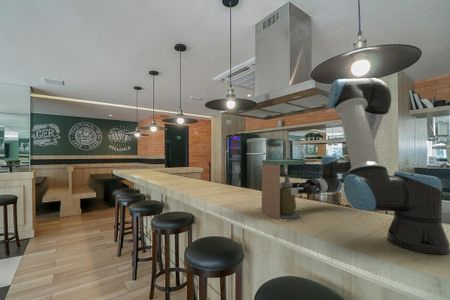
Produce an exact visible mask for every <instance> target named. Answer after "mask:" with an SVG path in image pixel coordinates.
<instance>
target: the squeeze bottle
mask: <svg viewBox="0 0 450 300" xmlns="http://www.w3.org/2000/svg"><path fill="white" fill-rule="evenodd" d="M292 183H293V182H291V181H290V176H289V175H285V178H284V182H282V187H281V188H280V213H281V214H283V215H293V214H294V212H296V208H297V204H296V203H297V202H296V195H291V187H292Z"/></svg>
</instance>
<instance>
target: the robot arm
mask: <svg viewBox="0 0 450 300" xmlns="http://www.w3.org/2000/svg"><path fill="white" fill-rule="evenodd" d="M329 88H330V89H329V92H328V97H327V105H328V107H329V108H331V109H333V108H334V111H335V113H336V115H337V116H340V120H341V125H342V130H343V134H344V138H345V145H346V148H347V153H348V158H346V159H345V158H338V155H334V154H333V155H329V154H327V155H323V156H321V164H320V165H321V171H320V172H321V177H320V178H309V179H307V180H305V182H291V183H292V187H291V195H295V196H296V195H303V194H305V195H307V194H308V195H311V196H312V195H319V196H320V195H321V194H328V193H329V194H330V193H333V194H334V193H338V192H340V190H342V187H343V192H344V195H345V198H346V200H347V202H348V203H349V204H350V205H351V206H352V207H353V208H354V209H356V210H360V211H367V212H373V211H375V212H377V211H378V212H379V211H380V212H393V214H394V215H393V218H392V221H391V223H390V225H389V227H388V230H387V240H388V241H389V242H391V243H392V244H394V245H396V246H399V247H401V248H403V249H407V250H410V251H414V252H418V253H423V254H430V255H447V254H449V253H450V242H449V239H448V237H447V235H446V232H445V229H444V227H443V224H442V210H443V209H442V208H443V205H442V204H443V203H442V200H443V199H442V198H443V191H444V190H443V188H442V180H441V179H440V178H439V177H437V176H434V175H426V174H419V173H411V172H404V171H394V173H393V175H389V172H388V169H387V167H386V166H385V165H383V164H381V163H380V160H379V157H378V154H377V150H376V145H375V139H376V136H377V134H378V132H379V129H380V126H381V125H382V121H383V118H384V116H385V115H388V113H389V111H390V109H391V105H392V94H391V90H390V88H389V86H388V85H387V84H386V82H384V81H383V80H382V79H379V78H375V77H369V78H340V79H336V80H334V81H333V82H332V84H331V86H330V87H329ZM338 174H343V175H344V174H346V176H345V177H344V179H343V183H342V180H340V178H338ZM282 183H283V181H282V182H281V181H280V188H281V187H282Z"/></svg>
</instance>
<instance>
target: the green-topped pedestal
mask: <svg viewBox="0 0 450 300" xmlns="http://www.w3.org/2000/svg"><path fill="white" fill-rule="evenodd" d="M305 161H306V159H305V158H288V157H287V158H286V159H261V213H262V214H265V215H267V216H270V217H272V218H274V219H276V220H279V219H281V218H280V183H281V166H283V165H285V166H289V165H291V166H292V165H306V162H305Z"/></svg>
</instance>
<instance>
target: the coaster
mask: <svg viewBox="0 0 450 300" xmlns="http://www.w3.org/2000/svg"><path fill="white" fill-rule="evenodd" d="M280 219H285V220H297V219H301V214H300V213H299V212H297V211H294V214H293V215H283V214H281V213H280Z"/></svg>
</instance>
